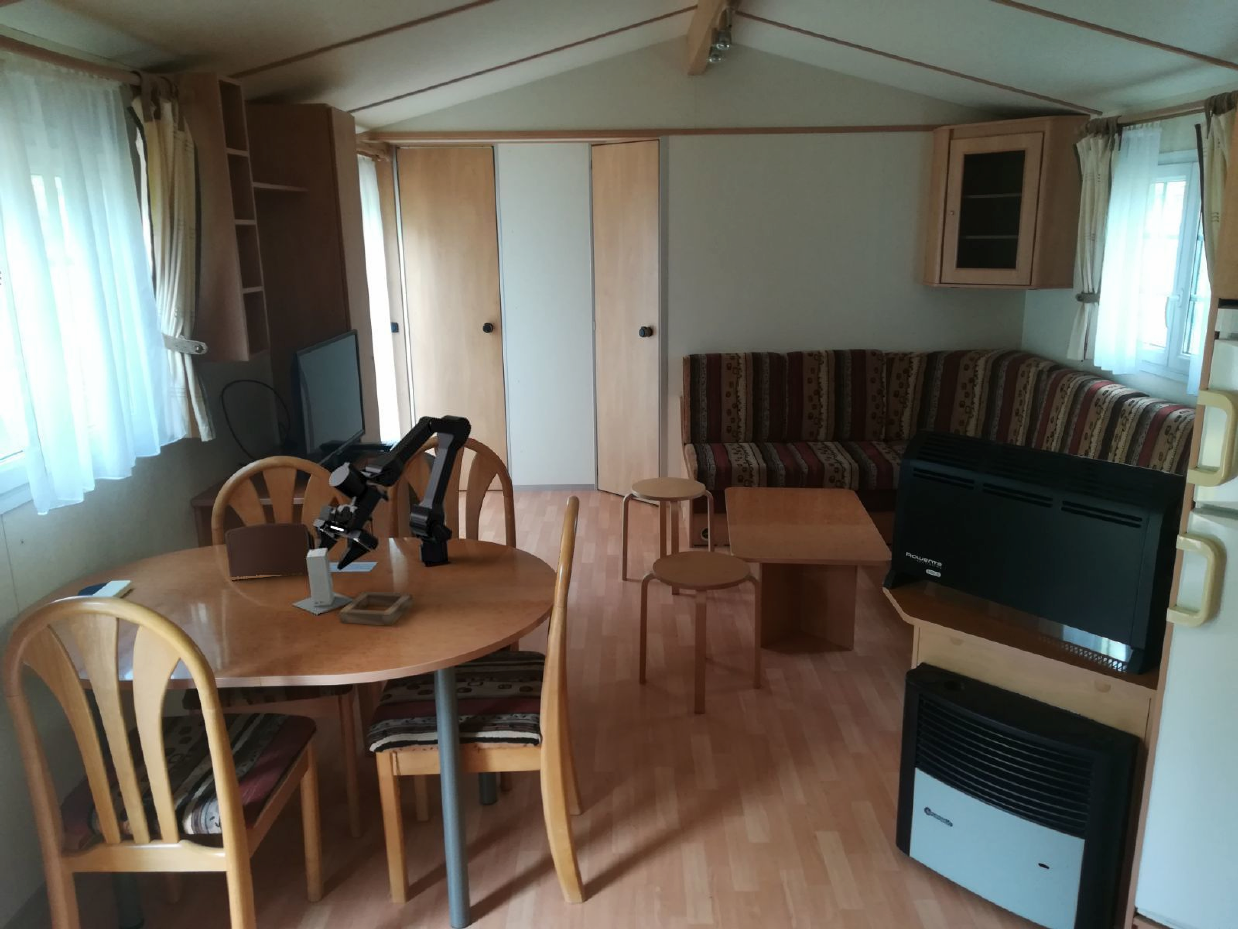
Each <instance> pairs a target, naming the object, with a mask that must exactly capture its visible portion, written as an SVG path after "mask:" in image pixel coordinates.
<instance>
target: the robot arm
mask: <svg viewBox="0 0 1238 929" xmlns="http://www.w3.org/2000/svg"><path fill="white" fill-rule="evenodd" d="M471 432H472V424H471V423H470V420H469V419H468V418H466V417H463V416H457V415H451V414H450V415H449V414H446V415H444V416H442V417H435V416H427V415H424V416H422V417H420V418H419V419H418V422H417V423H416V424H415V425H414V426H413V427H412V428H411V429H410V430H409V431H408V432H407V433H406V434H405V435H404V436H403V437H402V438H401V439H400V440H399V441H398V442H397V443H396V445H395V446H394V447H392V448H391V450H389V451H388V452H386V453H383V454H381V455H379V456H377V457H376V458H374V459H373V460H372V461H369V463H367V465H366V467H364V468H362V469H361V468H360V470H359V469H358V468H356V466H355V465H354V464H352V463H351V462H347V461H346V462H345V461H344V463H343V465H341V466H339V467H337V469H335V470H334V471H333V472H332V473H331V474H330V476H329V480H328V484H329V485H330V486H331V487H332V488H333V489H335V490H337V492H339V493H340V494H342V495H343V496H344V497H346V498H347V499H351V501H350V502H349V504H346V503H344V504H343V505H342V504H341V505H339V506H338V507H335V506H334V507H333V506H330V505H324V504H322V505H321V510H320V513H319V517H318V518H316V519H315V520H314V522H313V524H312V527H313V528H314V531H315V533H316V535H317V544H316V546H315V549H321V548H327V550H328V553H329V552H330V551H331V550H332V549H333V548H334V546H335V545H336V544H338V542H339V541H338V539H340V538H341V537H344V538H345V539H346V548H345V550H344V552H343V554H342V556H341V557H340V560H339V562H338V564H337V566H336V569H338V570H339V571H342V570H343V569H345V568H347V567H348V566H349V565H350V564H352V563H353V562H355V561H356V560H358V559H361V558H362V556H365V555H366V554H367V553H371V551H374V552H375V551H376V550H377V548H378V547H379V545H380V540H379V538H377V536H375V535H374V534H373V533H371V532H369V531H368V530H367V529H364V528H365V526H366V525H367V523H372V522H373V520H374V519H373V518H372V515H373V513H374V511H375V510H376V508H377V506H378V504H379V503H380V501H382V502H386V503H387V502H389V501H390V500H389V499H390V498H389V496H388V491H387V490H386V489H383V488H382V489H380V488H378V486H381V487H384V488H391V487H393V486H394V485H396V484H397V482H398V481H399V479H400V478H401V476H402V475H403V474H404V469H405V465H407V462H409V461H410V460H411V458H413V457H414V455H415V454H416V453H417V452H419V450H420V449H421V448H423V447H424V445H425V444H426V443H427V442H428V441H429V440H430V439H431V438H432V437H433V435H434V434H436V439H437V443H438V450H437V452H436V455H435V459H434V462H433V466H432V470H431V472H430V476H429V479H428V480H429V481H428V484H427V486H426V490H425V493H424V497H423V499H422V500H421V502H419V504H413V505H412V508H411V512H410V515H409V517H408V520H409V525H408V526H409V528H410V530H411V532H413V534H414V536H415V538H416V539H420V544H419V545H418V546H419V550H418V551H419V559H420V562H421V563H423V565H424V567H432V566H438V565H443V564H444V565H445V564H449V563H451V560H450V558H449V553H448V552H449V551H448V541H450V540H452V536H453V531H452V529H450V528H449V527H448V526H447V525H445V524H444V522H445V516H446V515H445V512H444V505H443V504H444V499H445V496H446V494H447V490H448V486H449V483H450V480H451V475H452V472H453V468H454V465H455V461H456V459H457V455H458V453H459V451H460V450H461V449H462V447H463V446H465V445H466V443H467V441H468V439H469V437H470V435H471ZM368 483H370V484H368ZM431 565H432V566H431Z"/></svg>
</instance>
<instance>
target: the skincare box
mask: <svg viewBox="0 0 1238 929" xmlns="http://www.w3.org/2000/svg"><path fill="white" fill-rule="evenodd" d="M306 559H307V567H308V573H309V574H308V580H309V586H310V594H311V597H312V602H313V606H327V605H331V604H332V602H333V599H334V593H335V591H334V585H333V578H332V571H331V564H330V557H329V552H328V550H327V548H321V549H316V548H315V549H312V550H310V551H309V553H308V555H307V558H306Z"/></svg>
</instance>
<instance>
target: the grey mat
mask: <svg viewBox="0 0 1238 929" xmlns="http://www.w3.org/2000/svg"><path fill="white" fill-rule="evenodd" d="M354 599H355V598H354ZM354 599H353V598H351V597H349V596H345V595H342V594H340V593H337V592H334V599H333V602H332V604H331V605H327V606H313V602H312V596H310V597H307V598H305V599H302V600H299V601H296V602H294V603H291V606H292V605H294V606H297V607H300V608H302V609H306V610H307V611H310V612H311V613H310V612H309V613H310V614H312V613H314V614H313V615H315V614H316V615H315V616H319V615H318V614H320V613H322V614H324V612H325V613H327V612H330V611H332V609H333V610H336V609H338V608H340V607H343V606H345V605H346V606H347V605H348V604H349V603H351V602H352V601H353V600H354ZM294 606H293V607H294ZM297 607H296V608H297ZM302 609H301V610H302ZM329 610H330V611H329ZM307 611H306V612H307ZM320 615H321V614H320Z"/></svg>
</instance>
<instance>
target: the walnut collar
mask: <svg viewBox="0 0 1238 929" xmlns="http://www.w3.org/2000/svg"><path fill="white" fill-rule="evenodd" d="M413 605H414V600H413V593H412V594H411V593H397V592H380V591H378V592H377V591H363V592H362V593H360V594H359V595H358V596H356V597H355V598H354V600H353V601H352V602H351V603H348V604H346V606H344V607H343V608H342V609H340V611H339V612H338V616H339V623H341V624H355V625H356V624H357V625H376V626H392V625H393V623H394V624H395V622H396V621H397V620H398V619H399V618H400V617H401V616H403V615H404V613H405V612H406V611H408V610H409V609H410V608H411V607H412V606H413ZM368 606H383V607H385V606H386V607H389V608H388V609H386V610H385V611H384V610H371V609H368V610H367V609H366V608H367V607H368Z"/></svg>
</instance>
